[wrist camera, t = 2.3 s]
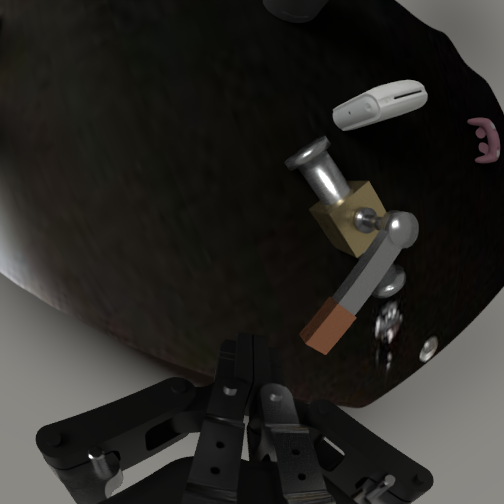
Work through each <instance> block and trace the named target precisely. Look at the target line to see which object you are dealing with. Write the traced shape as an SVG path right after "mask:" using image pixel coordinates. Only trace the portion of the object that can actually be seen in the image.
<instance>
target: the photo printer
mask: <svg viewBox="0 0 504 504" xmlns="http://www.w3.org/2000/svg"><path fill="white" fill-rule="evenodd" d="M426 101H427V93H426V91H425V88H424V86H423V85H422V84H421V83H420V82H417V81H414V80H403V81H397V82H392V83H388V84H384V85H381V86H378V87H375V88H373V89H371V90H369V91H367V92H365V93H363V94H361V95H359V96H357V97H355V98H353V99H351V100H349V101H347V102H345V103H343V104H341V105H339V106H338V107H336V108H335V109H333V111H334V113H333V119H334V122H335V124H336V125H337V126H338V127H339V128H340V129H342V131H348V130H353V129H356V128H360V127H363V126H366V125H370V124H373V123H376V122H379V121H382V120H386V119H389V118H392V117H396V116H399V115H402V114H405V113H408V112H410V111H413V110H416V109H418V108H420V107H422V106H423V105H424V104H425V103H426Z"/></svg>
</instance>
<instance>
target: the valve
mask: <svg viewBox="0 0 504 504" xmlns="http://www.w3.org/2000/svg"><path fill="white" fill-rule="evenodd" d="M330 144H331V143H330V142H329V141H328V139H327V138H326V136H322V137H320V138H318V139H316V140H314V141H312V142H311V143H309V144H308V145H306V146H305V147H303V148H302V149H300V150H299V151H297V152H296V153H295V154H293V155H292V156H291V157H290V158H289V159H287V160H286V161H285V164H286V166H287V167H288V168H289V170H290V171H293V170H295V169H297V168H298V169H299V170H300V172H301V173H302V175H303V176H304V177H305V179H306V180H307V182H308V183H309V184H310V186H311V187H312V189H313V190H314V192H315V193H316V194H317V196H318V197H319V199H320V201H319V202H318V203H316V204H315V205H314V206H313V207H312V208H310V209H309V210H310V212H311V213H312V215H313V216H314V217H315V219H316V220H317V222H318V223H319V225H320V226H321V228H322V229H323V231H324V232H325V234H326V235H327V237H328V238H329V240H330V241H331V243H332V244H333V246H334V247H335V248H337V249H340V250H342V251H344V252H346V253H348V254H350V255H352V256H354V257H356V258H358V260H360V259H361V257H362V256H363V254H364V253H365V252H366V250H367V249H368V247H369V246H370V244H371V243H372V241H373V240H374V238H375V237H376V235H377V234H378V232H379V231H380V222H381V219H382V217H383V216H384V215H385V213H386V211H385V209H384V207H383V205H382V203H381V202H380V200H379V198H378V196H377V194H376V193H375V191H374V189H373V187H372V186H371V184H370V182H369V181H346V179H345V178H344V176H343V175H342V173H341V172H340V170H339V169H338V167H337V166H336V164H335V163H334V161H333V160H332V158H331V157H330V155H329V154H328V152H327V151H326V149H327V148H328V147H329V146H330ZM405 281H406V274H405V272H404V270H403V268H402V266H401V265H399V264H395V263H392V265H391V266H390V268H389V269H388V270H387V272H386V273H385V275H384V276H383V278H382V279H381V281H380V282H379V283H378V285H377V286H376V288H375V289H374V290H373V292H372V293H371V294H372V296H374V297H376V298H386V297H389V296H392V295H393V294H395V293H396V292H398V291H399V290H400V289H401V288H402V286H403V285H404V283H405Z"/></svg>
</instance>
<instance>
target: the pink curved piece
mask: <svg viewBox="0 0 504 504" xmlns="http://www.w3.org/2000/svg"><path fill="white" fill-rule="evenodd" d="M467 123H468V124H470V125H476V126H479V128H478V129H477V130H476V135H477V137H478V138H484V137H485V135H487V139H488V145H487V144H485V143H480V144H479V150H480V151H481V152H483V153H484V154H485V155H484V156H481V157H478V158H476V159H475V161H476V162H477V163H490V162H495V161H496V160H497V159H498V157H499V154H500V141H499V137H498V133H497V131H496V128H495V126H494V124H493V123H492V122H491V121H490V120H489V119H486V118H474V119H469V120H468V121H467Z"/></svg>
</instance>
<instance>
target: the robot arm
mask: <svg viewBox="0 0 504 504" xmlns="http://www.w3.org/2000/svg"><path fill="white" fill-rule="evenodd" d="M327 2H328V0H263V3H264V5H265V7H266V9H267V10H268V11H269V12H270V13H272V14H273V15H274V16H276V17H278V18H280V19H282V20H285V21H288V22H293V23H304V22H308V21H311V20H312V19H314V18H315V17H316V15H317V14H318V13H319V12H320V10H321V9H322V8H323V7H324V5H325V4H326V3H327ZM244 415H246V416H249V422H248V425H247V427H246V430H247V442H248V453H249V461H246V460H243V459H241V455H242V446H243V439H244V430H245V424H244V423H243V419H244ZM193 432H194V433H195V432H200V436H199V440H198V444H197V447H196V451H195V454H194V456H191V457H184V458H180V459H177V460H175V461H173V462H170V463H169V464H167V465H165V466H164V467H162V468H161V469H159V470H158V471H156V472H154V473H153V474H151V475H149V476H148V477H146V478H144V479H143V480H141V481H139V482H138V483H136V484H134V485H132V486H130V487H128V488H126V489H125V490H123V491H121V492H119V493H117V494H115V495H114V496H111V494H112V492H113V491H114V490H115V489H117V488H118V487H119V486H120V485H121V484H122V482H123V474H122V471H123V470H125V469H128V468H130V467H131V466H134V465H136V464H138V463H139V462H141V461H143V460H145V459H147V458H149V457H151V456H153V455H155V454H156V453H158V452H160V451H162V450H163V449H165V448H167V447H169V446H171V445H172V444H174V443H175V442H178V441H179V440H181V439H183V438H184V437H186V436H187V435H188V434H189V433H193ZM325 437H326V438H327V439H329V440H330V441H331V442H332V443H334V444H335V445H336V446H337V447H339V448H340V449H341V450H342V451H343V452H344V454H345V456H344V455H342V454H341V453H340V452H338V451H337V450H336V449H335V448H333V447H332V446H331V445H330V444H329V443H327V442H326V441H325V440H324V438H325ZM36 444H37V446H38V448H39V450H40V451H41V453H42V454H43V457H44V459H45V461H46V462H47V464H48V465H49V467H50V468H51V469H52V471H53V472H54V474H55V475H56V476H57V477H58V478H59V479H60V481H61V482H62V483H63V484H64V485H65V487H66V488H67V490H68V491H69V492H70V494H71V496H72V497H73V499H74V500H75V502H76V503H77V504H411V503H412V502H413V501H415V500H416V499H417V498H419V497H420V496H421V495H423V494H424V493H425V492H427V491H428V490H429V489H430V488H431V487H432V485H433V476H432V474H431V473H430V471H429V470H428V469H426V468H425V467H423V466H421V465H420V464H418V463H417V462H415V461H413V460H412V459H411V458H409V457H408V456H406V455H405V454H403V453H402V452H400V451H398V450H397V449H396V448H394V447H393V446H391V445H390V444H388V443H387V442H385V441H384V440H383V439H381V438H380V437H378V436H377V435H375V434H374V433H373V432H371V431H370V430H368V429H367V428H366V427H364V426H363V425H362V424H360V423H359V422H358V421H356V420H355V419H353V418H352V417H351V416H349V415H348V414H347V413H345V412H344V411H343V410H341V409H340V408H339V407H338V406H336V405H335V404H334V403H332V402H330V401H328V400H325V399H317V400H314V401H312V402H311V403H310V404H306V403H303V402H300V401H298V400H296V399H294V398H292V394H291V392H290V391H289V390H288V389H287V388H286V387H285V381H284V375H283V368H282V363H281V355H280V353H279V352H278V351H277V349H276V348H273V347H268V339H267V337H265V336H259V335H254V334H253V335H252V334H248V333H243V332H238V333H237V336H236V340H235V341H233V340H228V339H226V340H225V341H224V342H223V343H222V344H221V347H220V352H219V356H218V361H217V365H216V372H215V378H214V382H213V383H212V384H210V385H208V386H205V387H195V386H194V385H193V384H192V383H191V382H190V381H188V380H186V379H184V378H180V377H172V378H169V379H166V380H164V381H161V382H159V383H157V384H155V385H152V386H150V387H148V388H145V389H143V390H141V391H138V392H136V393H134V394H131V395H129V396H126V397H124V398H121V399H119V400H117V401H114V402H111V403H109V404H106V405H103V406H101V407H98V408H95V409H93V410H90V411H87V412H85V413H82V414H79V415H76V416H73V417H71V418H67V419H65V420H61V421H58V422H55V423H52V424H49V425H46V426H44V427H42V428H41V429H39V431H38V432H37V434H36Z"/></svg>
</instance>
